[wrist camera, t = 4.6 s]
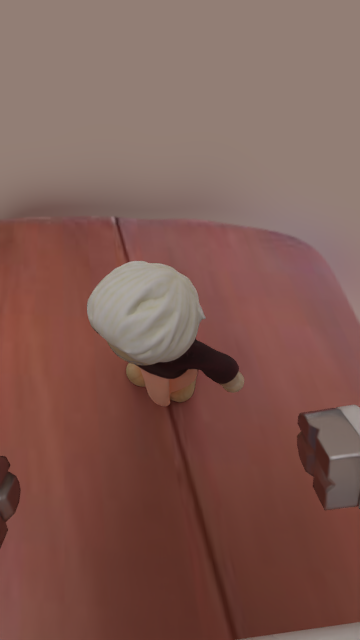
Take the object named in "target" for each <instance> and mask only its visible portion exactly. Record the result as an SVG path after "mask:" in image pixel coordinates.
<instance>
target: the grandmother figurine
mask: <svg viewBox="0 0 360 640" xmlns="http://www.w3.org/2000/svg"><path fill="white" fill-rule="evenodd" d="M87 313H88V318H89V321H90V324H91V326H92V328H93V329H94V330H95V331H96V332H97V333H98V334H99V335H100V336H102V337H103V338H104V339H106V340H107V342H108V344H109V346H110V348H111V349H112V350H113V352H114V353H115V354H116V355H117V356H119V357H120V358H121V359H123V360H125V361H127V362H129V363H128V365H127V368H126V374H127V377H128V379H129V380H130V381H131V382H132V383H133V384H135V385H137V386H141V387H144V386H146V388H147V392H148V395H149V396H150V398H151V399H152V400H153V401H154V402H155V403H156V404H158V405H160V406H164V407H165V406H168V405H170V399H171V400H173V401H176V402H184V401H187V400H188V399H190V397H191V396H192V395H193V392H194V389H195V383H196V377H197V369H198V370H201V371H202V372H203V373H204V374H205V375H206V376H208V377H209V378H211V379H212V380H213V381H215V382H216V383H219V384H220V385H222V386H223V388H224V389H225V390H226V391H228V392H232V393H234V392H238V391H239V390H241V389H242V387H243V386H244V378H243V376H242V374H241V373H240V372H239V366H238V364H237V362H236V361H235V360H234V359H233V358H231V357H230V356H228V355H226V354H224V353H221V352H219V351H216V350H214V349H212V348H211V347H209V346H207V345H205V344H204V343H202V342H200V341H197V340H196V335H197V331H198V327H199V323H200V322H201V320H202V319H205V318H206V317H205V316H204V313H203V311H202V308H201V306H200V304H199V298H198V294H197V291H196V289H195V287H194V286H193V284H192V283H191V281H190V280H189V279H188V278H187V277H186V276H184V275H183V274H180V273H179V272H177V271H176V270H175V269H174V268H172V267H170V266H167V265H164V264H158V263H147V262H143V261H133V262H129V263H126V264H124V265H122V266H120V267H118V268H116V269H114V270H113V271H112V272H111V273H109V274H108V275H107V276H106V277H105V278H104V279H103V280H102V281H101V282H100V283H99V284H98V285H97V287H96V288H95V289H94V291H93V292H92V294H91V296H90V297H89V299H88V303H87Z"/></svg>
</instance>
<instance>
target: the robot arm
mask: <svg viewBox="0 0 360 640" xmlns="http://www.w3.org/2000/svg"><path fill="white" fill-rule="evenodd" d="M298 425H299V427H300V429H301V432H300V433H299V434H298V436H297V447H298V453H299V457H300V460H301V462H302V465H303V467H304V469H305V471H306V472H307V473H309V474H310V475H311V476H313V488H314V490H315V492H316V494H317V496H318V498H319V500H320V502H321V504H322V506H323V508H324V510H331V509H340V508H349V507H357V506H359V509H360V408H359V407H358V406H356V405H349V406H342V407H336V408H330V409H323V410H317V411H310V412H303V413H300V414H299V416H298ZM9 467H10V463H9V461H8V460H7V458H6V456H0V548H1V546H2V543H3V541H4V538H5V536H6V534H7V531H8V528H7V525H6V521H7V520H8V519H9V518H10V517H11V516H12V515H13V514H14V513H15V512H16V509H17V506H18V504H19V499H20V491H21V490H20V484H19V481H18V479H17V477H16V476H15V475H14V474H12V473H10V472H8V469H9ZM237 640H360V622H356V623H349V624H342V625H335V626H328V627H321V628H314V629H307V630H300V631H293V632H286V633H279V634H272V635H265V636H258V637H251V638H244V639H237Z"/></svg>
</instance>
